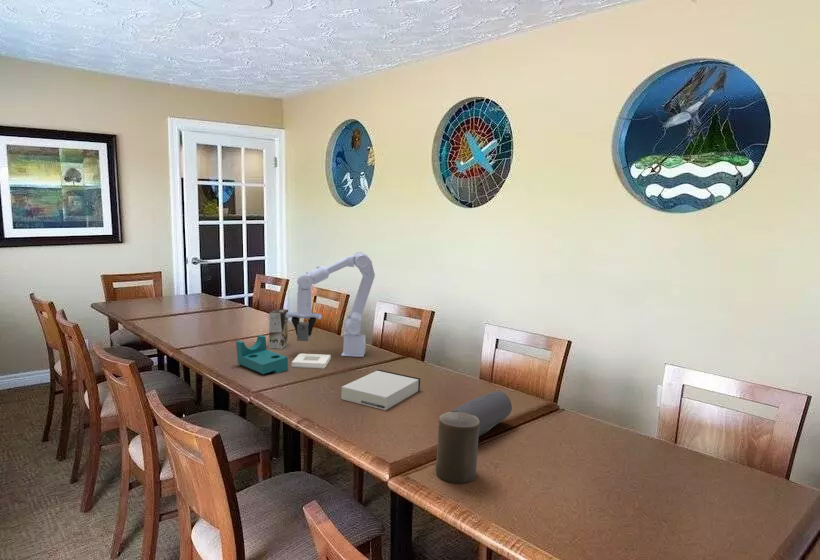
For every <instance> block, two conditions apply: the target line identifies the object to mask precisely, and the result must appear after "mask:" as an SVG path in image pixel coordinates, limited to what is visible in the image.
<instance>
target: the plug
mask: <svg viewBox="0 0 820 560" xmlns="http://www.w3.org/2000/svg"><path fill="white" fill-rule="evenodd" d="M310 340H311V336H309V322H307V321H305V322H304V321H299V323H298V324H297V335H296V341H298V342H309V341H310Z"/></svg>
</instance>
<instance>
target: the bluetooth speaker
mask: <svg viewBox="0 0 820 560" xmlns="http://www.w3.org/2000/svg"><path fill="white" fill-rule="evenodd" d="M512 410H513V408H512V401H511V399H510V398H509V396H508V395H507V394H506V393H505V392H503V391H500V390H495V391H491V392H489V393H486V394H483V395H480V396H478V397H476V398H474V399H473V398H472V399H470V400H469V401H467V402H465V403H463V404H462V405H460V406H458V407H456V408H454V409H453V410H451V411H450V412H459V413H466V414H470V415H473V416H476V417H477V418H478V419H479V422H480V424H479V437H481V436H482V435H484V434H487V433H488V432H489V431H490V430H491V429H492V428H494V427H495V426H497V425H498V424H499V423H501V422H503V421H504V420H505V419H507V417H509V416H510V414H511V413H512Z"/></svg>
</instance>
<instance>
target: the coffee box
mask: <svg viewBox="0 0 820 560" xmlns="http://www.w3.org/2000/svg"><path fill="white" fill-rule="evenodd" d="M287 312H289V309H285V308H283V309H281V308H280V309H279V308H277V309H273V310H271V311H270V312H269V317H268V318H269V322H268V325H269V326H268V327H269V328H268V330H269V333H268V335H269V336H268V338H269V339H268V348H269V349H279V350H281V349H282V350H283V349H284V348H285V347H286V346H287V345H288V344H289V343H288V341H289V337H288V336H289V318H286V313H287Z"/></svg>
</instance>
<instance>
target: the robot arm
mask: <svg viewBox="0 0 820 560" xmlns="http://www.w3.org/2000/svg"><path fill="white" fill-rule="evenodd" d="M346 267H349V268H350V267H351V268H355V267H356V268H357V269H358V270H359V272H360V274H361V275H362V277H361V280H360V282H359V283H360V284H359V286H358V290H357V293H356V295H355V299H354V301H353V304H352V308H351V310H350V311H349V314H348V316H347V318H346V319H344V322H343V326H344V329H345V331H344V332H343V352H342V353H341V354H340V356H341V357H360V358H363V357H364V356H365V354H366V335H365V334H362V333H361V330H362V319H363V312H364V310H365V307H366V304H367V302H368V297H369V295H370V291H371V289H372V285H373V283H374V279H375V277H376V275H375V271H374V266H373V262H372V260H371V258H370V257H369V255H367V254H366V253H364V252H362V251H358V252H355V253H352V254H350V255H347V256H345V257H343V258H341V259H338V261H335V262H333V263H331V264H329V265H327V266H324V265H321V266H320V265H317V266H316V268H314V269H312V270H310V271H308V270H307V271H305V273H303V274H301V275H299V276H298V278H297V280H296V284H297V294H296V295H297V299H296V300H297V301H296V304H297V306H296V312H293V311H291V312H290V311H288V312H287V313H286V318H288V319H289V318H291V323H292V325H293V327H294V331H295V333H296V334H295V335H296V336H297V324H298V323H299V322H301V321H300V319H308V322H309V336H310V337H311V336H312V334H313V333H312V332H313V329H314V326H315V323H316V321H317V319H318V320H322V318H323V317H322V316H323V314H322V313H315V312H312V286H313V285H317V284H318V283H320V282H322V281H324V280H327V279H328V278H329V276H330V274H333V273H334V272H337V271H340V270H342V269H344V268H346Z"/></svg>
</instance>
